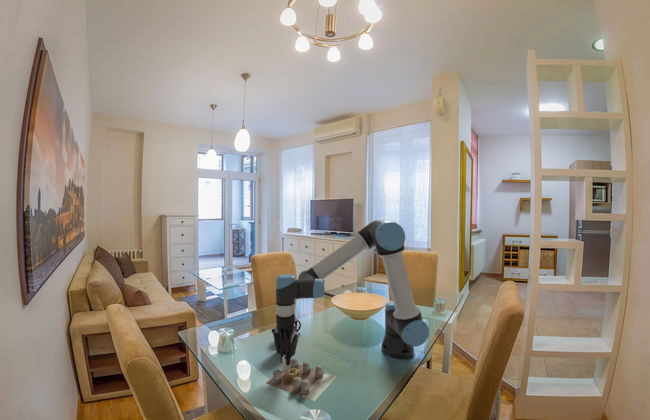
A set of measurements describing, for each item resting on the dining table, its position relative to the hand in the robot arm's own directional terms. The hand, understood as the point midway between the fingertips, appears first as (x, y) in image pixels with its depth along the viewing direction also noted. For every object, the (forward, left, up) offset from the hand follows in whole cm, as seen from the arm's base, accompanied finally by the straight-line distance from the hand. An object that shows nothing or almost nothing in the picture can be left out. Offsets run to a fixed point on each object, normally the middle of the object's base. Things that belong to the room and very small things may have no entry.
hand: (285, 371), depth 118 cm
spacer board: (-7, 0, -3) cm, 8 cm away
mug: (+20, -31, -3) cm, 37 cm away
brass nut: (-3, 0, -1) cm, 4 cm away
